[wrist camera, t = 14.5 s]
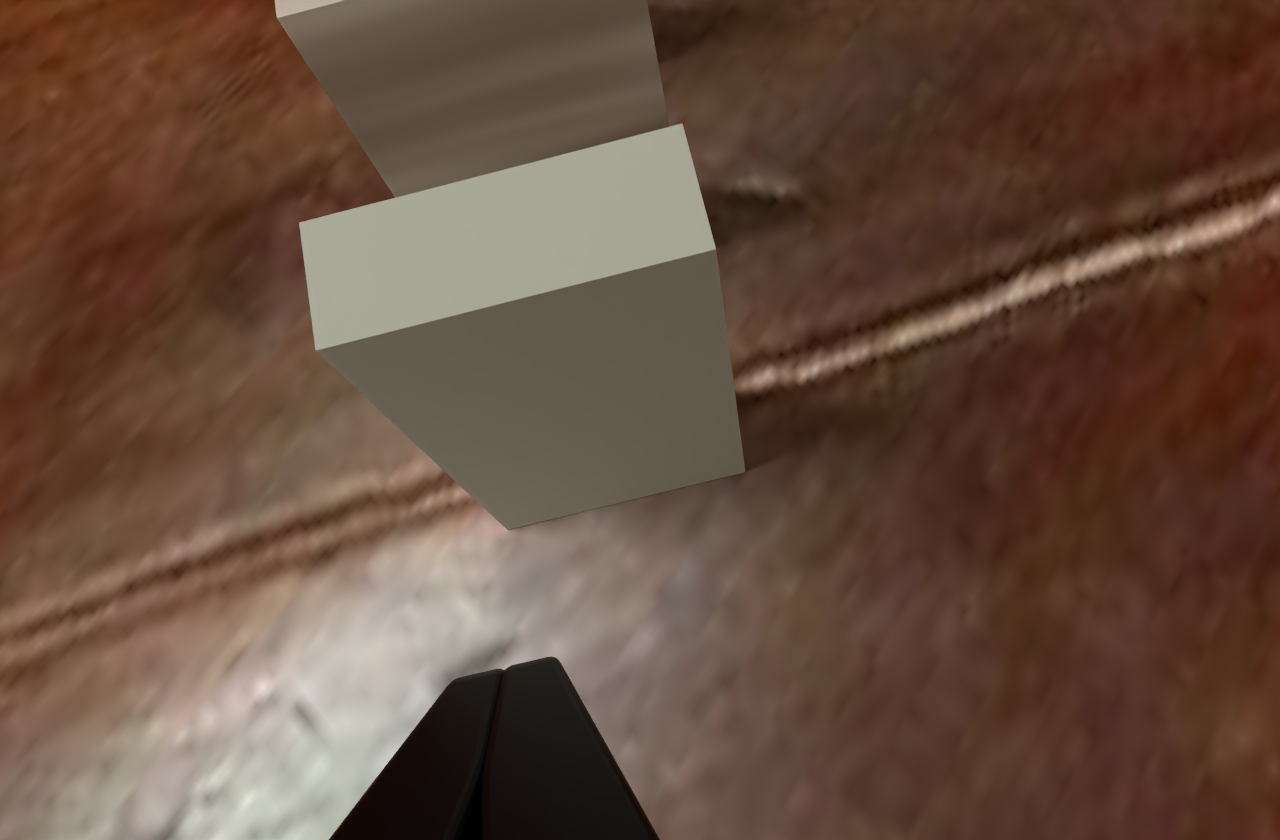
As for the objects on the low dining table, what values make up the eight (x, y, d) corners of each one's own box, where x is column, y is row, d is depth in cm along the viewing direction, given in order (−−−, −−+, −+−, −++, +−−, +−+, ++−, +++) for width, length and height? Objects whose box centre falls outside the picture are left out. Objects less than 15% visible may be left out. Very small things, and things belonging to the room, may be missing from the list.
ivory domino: (692, 257, 25) (633, -76, 15) (470, 311, 25) (277, 18, 15) (675, 186, 25) (606, -177, 16) (458, 240, 25) (264, -85, 16)
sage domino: (745, 471, 23) (716, 249, 14) (507, 529, 23) (315, 350, 14) (724, 391, 24) (682, 123, 14) (492, 448, 24) (299, 222, 14)
